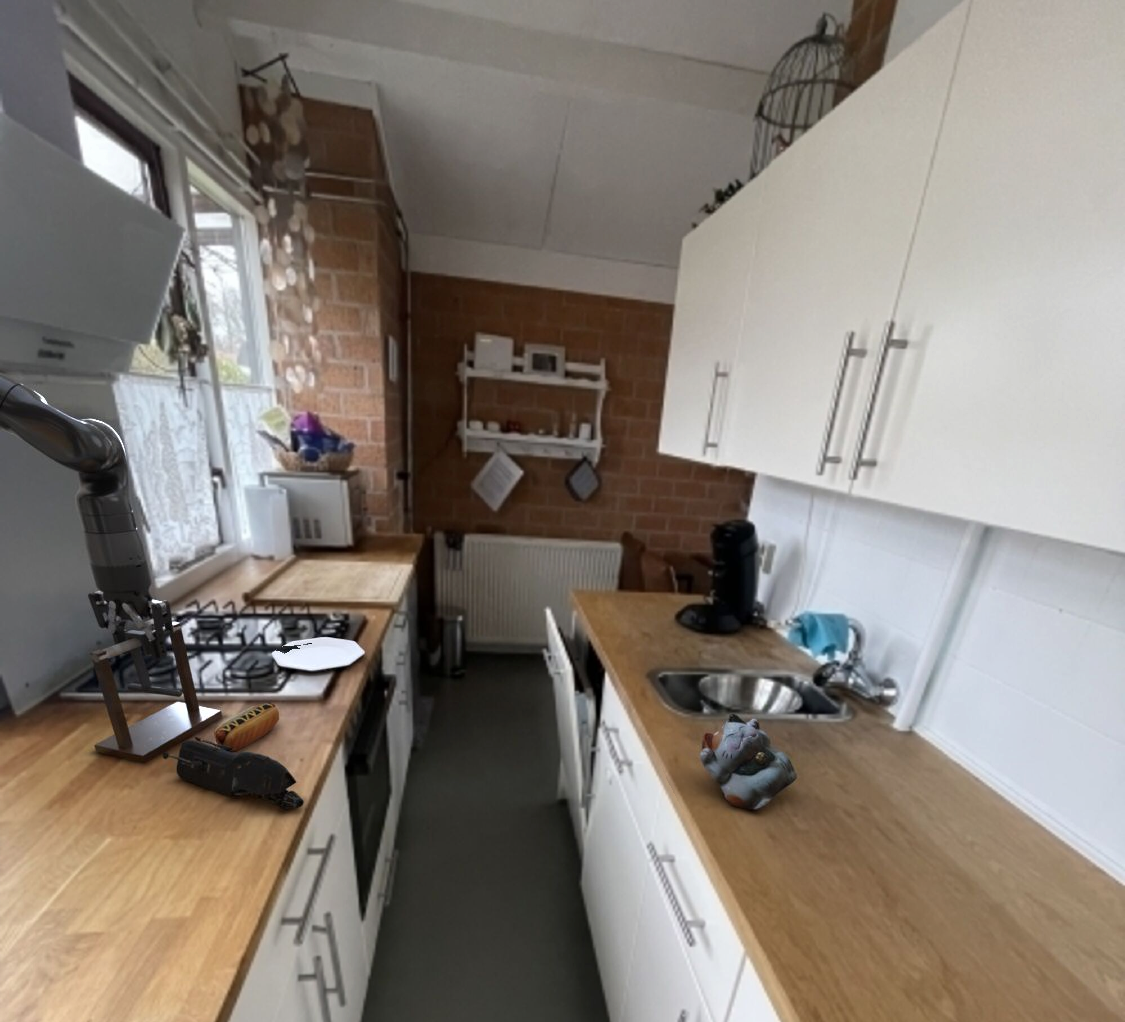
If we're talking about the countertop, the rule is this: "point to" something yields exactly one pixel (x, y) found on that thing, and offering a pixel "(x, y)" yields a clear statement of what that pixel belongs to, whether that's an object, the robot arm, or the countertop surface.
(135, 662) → the hanger
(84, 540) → the robot arm
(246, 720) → the hot dog
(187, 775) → the black toy vehicle
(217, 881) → the countertop surface
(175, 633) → the rail stand
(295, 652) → the plate
